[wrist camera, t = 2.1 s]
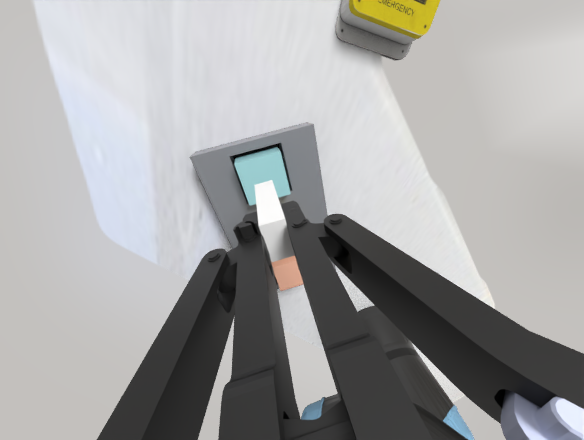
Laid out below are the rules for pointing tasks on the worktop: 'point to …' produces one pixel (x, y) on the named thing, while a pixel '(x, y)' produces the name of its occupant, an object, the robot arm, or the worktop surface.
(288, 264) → the terracotta button
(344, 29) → the emergency button
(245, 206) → the button panel
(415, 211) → the worktop surface
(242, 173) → the teal button
